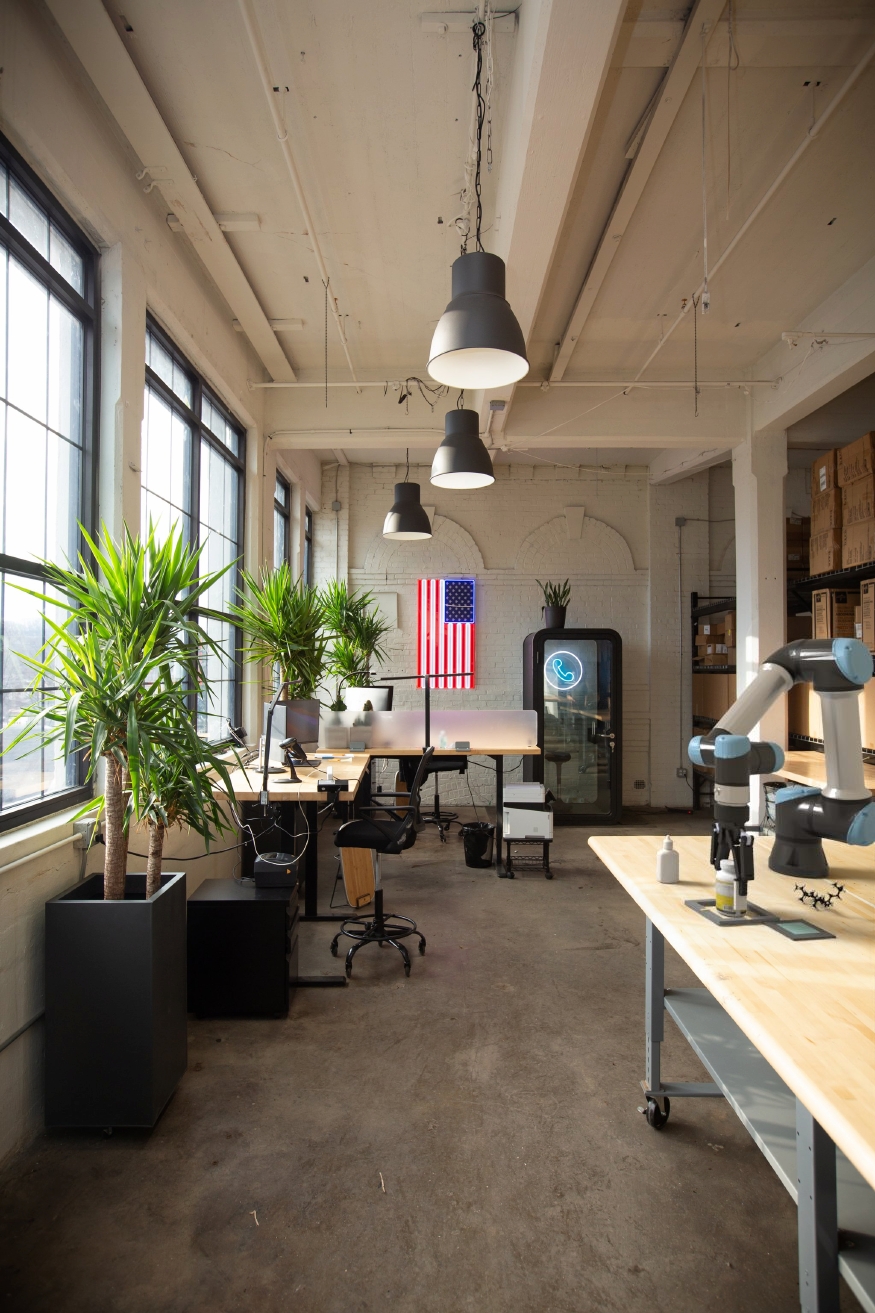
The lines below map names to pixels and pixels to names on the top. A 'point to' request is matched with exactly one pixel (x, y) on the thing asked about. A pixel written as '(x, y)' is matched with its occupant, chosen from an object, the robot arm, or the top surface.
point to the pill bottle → (726, 890)
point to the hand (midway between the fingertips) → (731, 903)
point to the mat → (798, 929)
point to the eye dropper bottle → (667, 863)
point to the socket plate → (763, 916)
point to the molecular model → (820, 899)
